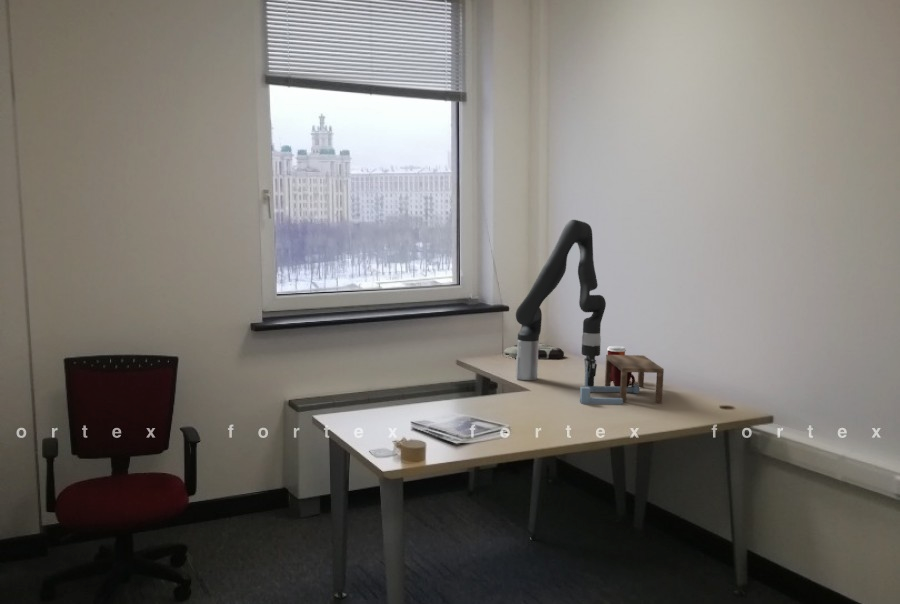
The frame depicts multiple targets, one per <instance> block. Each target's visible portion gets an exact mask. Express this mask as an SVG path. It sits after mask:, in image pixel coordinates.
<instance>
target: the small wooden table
mask: <svg viewBox="0 0 900 604" xmlns="http://www.w3.org/2000/svg"><path fill="white" fill-rule="evenodd" d="M612 364H614V365H615V366H616V367H617V368H618V369H619V370H621V383H620V392H619V398H622V399H623V403H627V392H626V391H627V372H632V373H637V385H639V387H643V388H644V384H645V379H644V378H645V373H650V374H651V373H656V382H655V383H656V384H655V399H654V401H655V403H656V404H662V403H663V389H664V387H663V386H664V373H665V372H664V371H665V369H664V368H663V367H661V366H660V365H658V363H655V362H654V360H653V361H652V360H651V359H649V358H648V357H647V356H646V355H638V354H637V355H635V354H633V355H630V354H628V355H627V354H625V355H608V354H606V355H605V370H604V371H605V373H604V374H605V376H604V386H612V384H611V383H612V381H611V365H612Z"/></svg>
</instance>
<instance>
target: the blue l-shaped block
mask: <svg viewBox="0 0 900 604" xmlns="http://www.w3.org/2000/svg"><path fill="white" fill-rule="evenodd" d="M579 388H580V391H579V392H580V393H579V403H580V404H581V405H583V404H584V405H591V404H592V405H593V404H594V405H595V404H597V405H623V404H624V402H623V399H622V398H620V397H592V396H591V392H590V388H589V387H585V386H580V387H579Z"/></svg>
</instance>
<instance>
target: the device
mask: <svg viewBox="0 0 900 604" xmlns="http://www.w3.org/2000/svg"><path fill="white" fill-rule="evenodd" d="M504 355H509V356H508V357H512V358H516V356H517V344H515V345H512V346H509V347H506V348H505V349H504V350H503V356H504ZM563 356H564V357H565V352H564V351H563V350H562V349H561V348H559V347H555V346H552V345H548V344H544V343H541V342H539V346H538V360H559V359H558V358H560V359H562V358H561V357H563ZM564 357H563V358H564Z"/></svg>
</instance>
